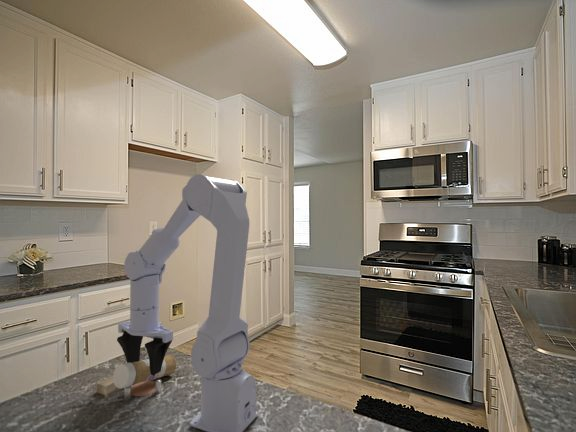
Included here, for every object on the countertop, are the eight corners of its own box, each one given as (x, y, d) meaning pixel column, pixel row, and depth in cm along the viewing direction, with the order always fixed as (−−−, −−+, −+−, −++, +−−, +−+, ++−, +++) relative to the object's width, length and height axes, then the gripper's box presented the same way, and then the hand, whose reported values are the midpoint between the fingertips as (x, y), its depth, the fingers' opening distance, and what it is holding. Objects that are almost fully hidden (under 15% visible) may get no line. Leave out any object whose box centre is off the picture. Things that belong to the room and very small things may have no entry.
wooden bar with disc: (173, 379, 72) (174, 370, 72) (131, 405, 62) (131, 395, 62) (140, 370, 76) (140, 362, 76) (96, 392, 66) (96, 383, 66)
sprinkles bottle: (172, 378, 73) (121, 394, 61) (160, 368, 75) (108, 380, 64) (180, 360, 74) (131, 371, 62) (167, 350, 76) (118, 359, 64)
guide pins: (162, 392, 66) (162, 380, 66) (141, 405, 62) (141, 392, 62) (131, 382, 70) (131, 371, 70) (109, 394, 66) (109, 382, 66)
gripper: (183, 306, 69) (183, 368, 68) (137, 299, 75) (137, 356, 75) (157, 314, 62) (157, 383, 62) (109, 306, 68) (109, 369, 68)
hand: (144, 369), depth 68 cm, fingers open, 6 cm apart
